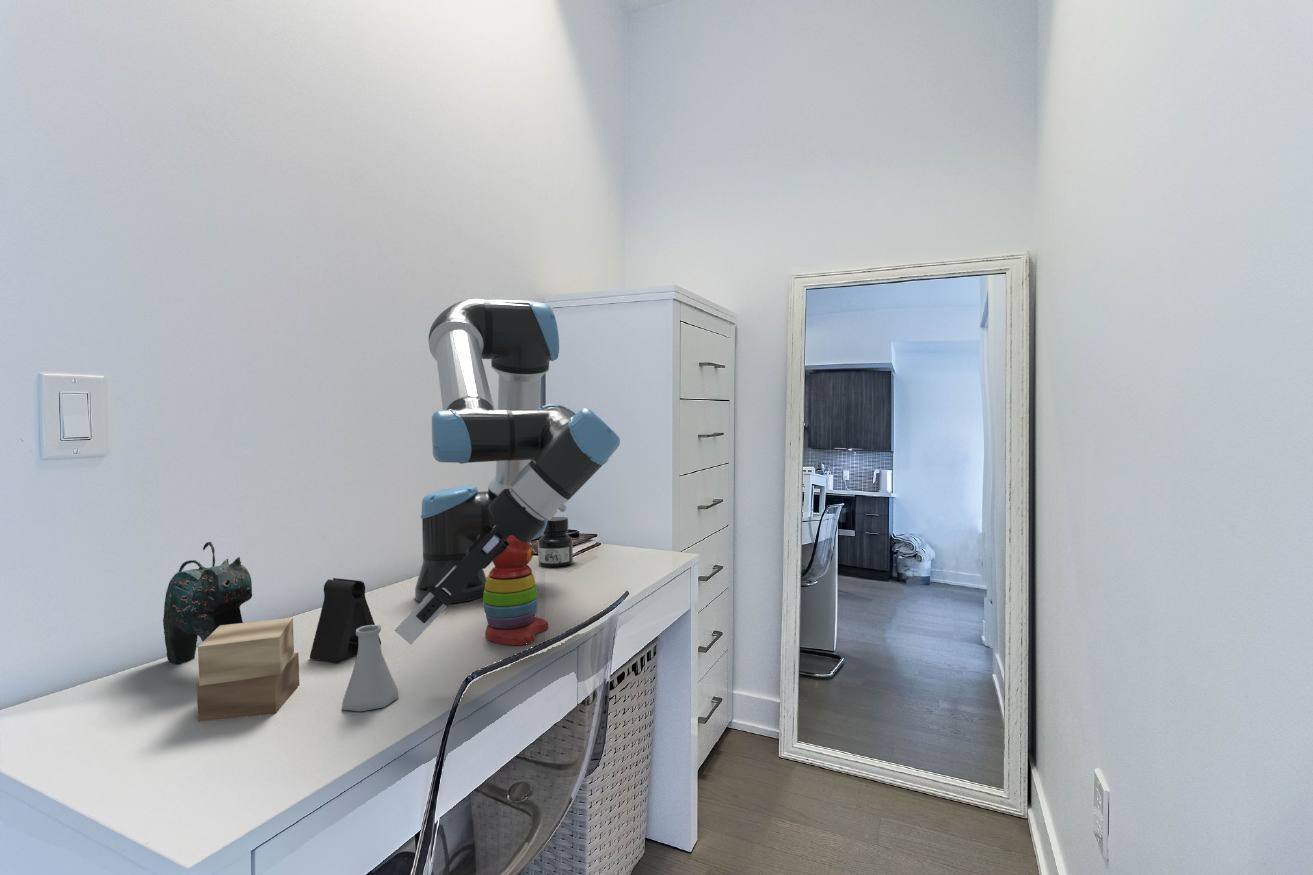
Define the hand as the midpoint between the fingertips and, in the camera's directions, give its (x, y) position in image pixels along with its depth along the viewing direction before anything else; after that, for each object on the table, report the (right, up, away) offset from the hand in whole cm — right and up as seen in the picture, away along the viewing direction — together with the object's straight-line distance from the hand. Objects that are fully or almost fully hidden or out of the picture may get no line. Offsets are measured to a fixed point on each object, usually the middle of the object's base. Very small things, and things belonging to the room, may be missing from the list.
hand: (417, 619), depth 85 cm
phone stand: (-19, -11, +19) cm, 29 cm away
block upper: (-23, -7, +1) cm, 24 cm away
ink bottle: (+6, -9, +80) cm, 81 cm away
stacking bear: (+7, -10, +26) cm, 29 cm away
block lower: (-23, -12, +1) cm, 26 cm away
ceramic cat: (-38, -12, +13) cm, 42 cm away
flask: (-7, -11, +1) cm, 13 cm away
